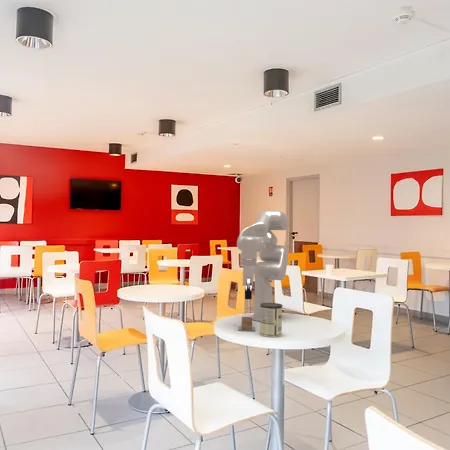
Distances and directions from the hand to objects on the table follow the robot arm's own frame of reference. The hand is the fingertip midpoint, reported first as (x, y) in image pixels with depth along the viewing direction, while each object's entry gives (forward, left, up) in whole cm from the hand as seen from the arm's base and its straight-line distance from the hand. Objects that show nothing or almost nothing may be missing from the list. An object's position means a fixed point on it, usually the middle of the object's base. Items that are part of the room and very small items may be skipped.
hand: (248, 297), depth 219 cm
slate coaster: (+1, 0, -15) cm, 15 cm away
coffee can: (+10, +11, -16) cm, 22 cm away
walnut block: (+1, 0, -15) cm, 15 cm away
